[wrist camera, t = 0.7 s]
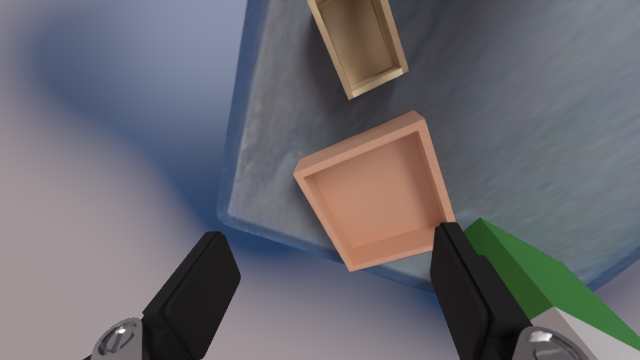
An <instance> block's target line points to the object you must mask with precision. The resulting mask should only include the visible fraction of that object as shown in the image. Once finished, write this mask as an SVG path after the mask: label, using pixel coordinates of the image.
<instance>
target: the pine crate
mask: <svg viewBox="0 0 640 360" xmlns="http://www.w3.org/2000/svg"><path fill="white" fill-rule="evenodd" d="M307 2H308V4H309V6H310V9H311V11H312V14H313V16H314V18H315V21H316V23H317V26H318V28H319V30H320V33H321V35H322V37H323V40H324V42H325V45H326V47H327V49H328V52H329V54H330V57H331V59H332V61H333V64H334V66H335V68H336V71H337V73H338V76H339V78H340V80H341V83H342V85H343V88H344V90H345V92H346V95H347V97H348V100H350V99H352V98H354V97H356V96H358V95H360V94H362V93H365V92H367V91H369V90H371V89H373V88H375V87H377V86H379V85H381V84H383V83H385V82H387V81H389V80H392V79H394V78H396V77H398V76H400V75H402V74H404V73H406V72H408V71H409V68H408V65H407V62H406V59H405V55H404V52H403V49H402V45H401V42H400V39H399V36H398V32H397V29H396V26H395V22H394V19H393V16H392V13H391V9H390V6H389V3H388V0H307Z"/></svg>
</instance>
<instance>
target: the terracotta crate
mask: <svg viewBox="0 0 640 360" xmlns="http://www.w3.org/2000/svg"><path fill="white" fill-rule="evenodd" d="M293 175H294V177H295V179H296V181H297V182H298V184H299V186H300V187H301V189H302V191H303V193H304V194H305V196H306V198H307V199H308V201H309V203H310V205H311V206H312V208H313V210H314V211H315V213H316V215H317V217H318V218H319V220H320V222H321V223H322V225H323V227H324V229H325V230H326V232H327V234H328V235H329V237H330V239H331V241H332V242H333V244H334V246H335V247H336V249H337V251H338V252H339V254H340V256H341V258H342V259H343V261H344V263H345V264H346V266H347V268H348V270H349V271H350V272H352V271H355V270H359V269H363V268H367V267H370V266H374V265H378V264H382V263H386V262H389V261H393V260H397V259H401V258H404V257H408V256H412V255H416V254H420V253H423V252H427V251H431V250H433V242H434V232H435V227H436V226H439V225H440V223H441V222H456V220H455V217H454V213H453V210H452V207H451V203H450V200H449V197H448V194H447V190H446V187H445V184H444V180H443V177H442V174H441V171H440V167H439V164H438V161H437V157H436V154H435V151H434V147H433V144H432V141H431V138H430V134H429V131H428V128H427V124H426V121H425V118H423V117H422V116H421V115H420V114H418V113H417V112H416V111H414V110H412V111H409V112H407V113H405V114H403V115H400V116H398V117H396V118H393V119H391V120H389V121H386V122H384V123H382V124H380V125H377V126H375V127H373V128H370V129H368V130H366V131H363V132H361V133H359V134H357V135H354V136H352V137H350V138H347V139H345V140H343V141H340V142H338V143H336V144H334V145H331V146H329V147H327V148H324V149H322V150H320V151H317V152H315V153H313V154H311V155H308V156H306V157H304V158H301V159H299V161H298V163H297V165H296V168H295V170H294V172H293Z"/></svg>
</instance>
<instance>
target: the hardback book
mask: <svg viewBox="0 0 640 360" xmlns="http://www.w3.org/2000/svg"><path fill="white" fill-rule="evenodd" d="M464 234H465V235H466V237H467V238H468V240H469V242H470V243H471V245H472V246H473V248H474V249H475V251H476V252H477V254H478V255H484V256H486V257H487V259H488V260H489V261H490V263H491V264H492V265H493V267H494V268H495V270H496V271H497V273H498V274H499V276H500V277H501V279H502V280H503V282H504V283H505V285H506V286H507V288H508V289H509V291H510V292H511V293H512V295H513V296H514V298H515V299H516V301H517V302H518V304H519V305H520V307H521V308H522V310H523V311H524V313H525V314H526V316H527V317H528V318H529V320H530V321H531V323H532V324H533V326H539V327H544V328H548V329H551V330H553V331H556V332H558V333H560V334H562V335H563V336H565V337H567V338H568V339H570V340H571V341H572V342H573V343H575V344H576V345H577V346H578V347H580V349H581V350H582V351H583V352H584V353H585V354H586V355H587V357H588V358H589V360H640V337H639V336H638V335H637V334H636V333H635V332H634V331H633V330H631V328H629V327H628V326H627V325H626V324H625V323H624V322H623V321H622V320H621V319H620V318H619V317H618V316H617V315H616V314H615V313H614V312H613V311H612V310H611V309H609V307H608V306H606V305H605V304H604V303H603V302H602V301H601V300H600V299H599V298H598V297H597V296H596V295H595V294H594V293H593V292H592V291H591V290H590V289H589V288H588V287H587V286H586V285H584V284H583V283H582V282H581V281H580V280H579V279H578V278H577V277H576V276H575V275H574V274H573V273H572V272H571V271H570V270H569V269H568V268H567V267H566V266H565V265H564V264H562V263H560V262H559V261H557V260H555V259H553V258H551V257H550V256H548V255H546V254H544V253H542V252H541V251H539V250H537V249H535V248H534V247H532V246H530V245H528V244H526V243H525V242H523V241H521V240H519V239H517V238H516V237H514V236H512V235H510V234H509V233H507V232H505V231H503V230H501V229H500V228H498V227H496V226H494V225H492V224H491V223H489V222H487V221H485V220H484V219H482V218H479V219H478V220H476V221H475V222H474V223H473V224H472V225H471V226H470V227H469V228H468V229H466V230H465V231H464Z"/></svg>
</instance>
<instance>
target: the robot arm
mask: <svg viewBox="0 0 640 360" xmlns="http://www.w3.org/2000/svg"><path fill="white" fill-rule="evenodd" d="M430 276H431V281H432V284H433V287H434V289H435V292H436V295H437V297H438V300H439V303H440V306H441V308H442V311H443V314H444V317H445V319H446V322H447V325H448V328H449V330H450V333H451V336H452V338H453V341H454V344H455V347H456V349H457V352H458V355H459V357H460V360H589V358H588V357H587V355H586V354H585V353H584V352H583V351H582V350H581V349H580V347H578V346H577V345H576V344H575V343H573V342H572V341H571V340H570V339H568V338H567V337H565V336H563V335H562V334H560V333H558V332H556V331H553V330H551V329H548V328H544V327H539V326H533V324H532V323H531V321H530V320H529V318H528V317H527V316H526V314H525V313H524V311H523V310H522V308H521V307H520V305H519V304H518V302H517V301H516V299H515V298H514V296H513V295H512V293H511V292H510V291H509V289H508V288H507V286H506V285H505V283H504V282H503V280H502V279H501V277H500V276H499V274H498V273H497V271H496V270H495V268H494V267H493V265H492V264H491V263H490V261H489V260H488V259H487V257H486V256H484V255H478V254H477V252H476V251H475V249H474V248H473V246H472V245H471V243H470V242H469V240H468V238H467V237H466V235H465V234H464V232H463V231H462V229H461V228H460V226H459V225H458V223H457V222H441V223H440V225H439V226H436V227H435V232H434V242H433V251H432V260H431V270H430ZM240 279H241V275H240V272H239V269H238V267H237V264H236V262H235V259H234V257H233V254H232V252H231V250H230V247H229V244H228V242H227V240H226V237H225V235H224V234H222V233H221V232H220V231H211V232H206V233H205V234H204V235H203V236H202V238H201V239H200V240H199V242H198V243H197V244H196V245H195V246H194V248H193V249H192V250H191V252H190V253H189V254H188V255H187V257H186V258H185V259H184V260H183V262H182V263H181V264H180V265H179V267H178V268H177V269H176V270H175V272H174V273H173V274H172V275H171V277H170V278H169V279H168V281H167V282H166V283H165V284H164V285H163V287H162V288H161V289H160V291H159V292H158V293H157V294H156V296H155V297H154V298H153V299H152V301H151V302H150V303H149V304H148V306H147V307H146V308H145V310H144V311H143V312H142V313H143V315H144V317H143V318H142V319H141V320H140V319H139V318H134V317H133V318H128V319H125V320H123V321H120V322H119V323H117V324H115V325H114V326H112V327H111V328H110V329H109V330H107V331H106V332H105V333H104V334H103V335H102V336H101V337H100V338H99V340H98V341H97V343H96V344H95V346H94V349H93V351H92V354H91V355H90V356H88V357H86V358H85V359H83V360H200V359H202V358H203V357H204V356H205V354H206V352H207V350H208V348H209V345H210V344H211V341H212V340H213V337H214V335H215V333H216V331H217V329H218V327H219V325H220V323H221V321H222V318H223V316H224V314H225V312H226V310H227V308H228V306H229V304H230V302H231V299H232V297H233V295H234V293H235V291H236V289H237V287H238V285H239V282H240Z"/></svg>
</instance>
